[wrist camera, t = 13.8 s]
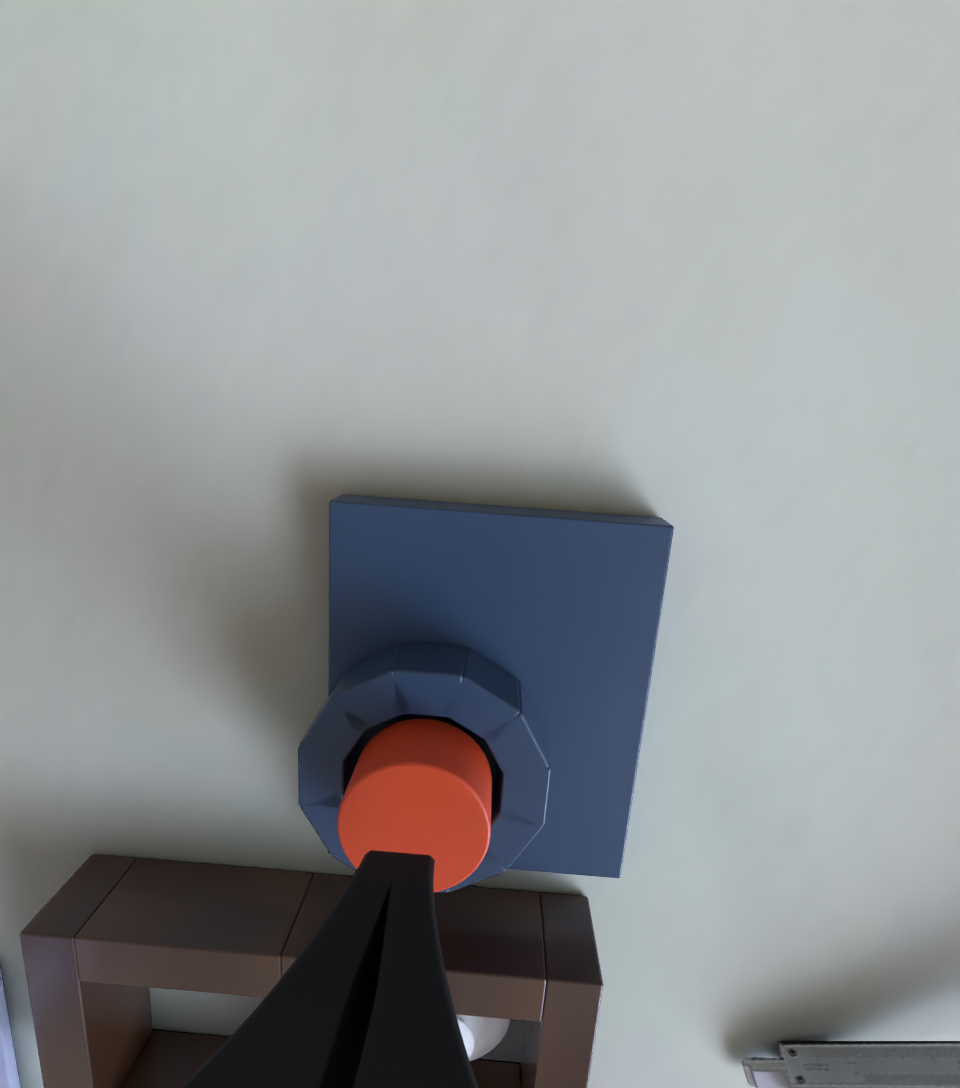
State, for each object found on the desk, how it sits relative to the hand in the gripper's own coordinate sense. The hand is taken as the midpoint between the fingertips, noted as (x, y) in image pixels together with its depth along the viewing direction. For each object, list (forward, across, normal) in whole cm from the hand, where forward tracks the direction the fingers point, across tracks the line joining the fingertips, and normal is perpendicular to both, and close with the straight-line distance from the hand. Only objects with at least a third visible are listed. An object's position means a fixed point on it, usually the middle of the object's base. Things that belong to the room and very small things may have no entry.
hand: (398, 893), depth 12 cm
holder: (+6, +3, +10) cm, 13 cm away
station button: (+4, 0, 0) cm, 4 cm away
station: (+6, -2, -2) cm, 7 cm away
